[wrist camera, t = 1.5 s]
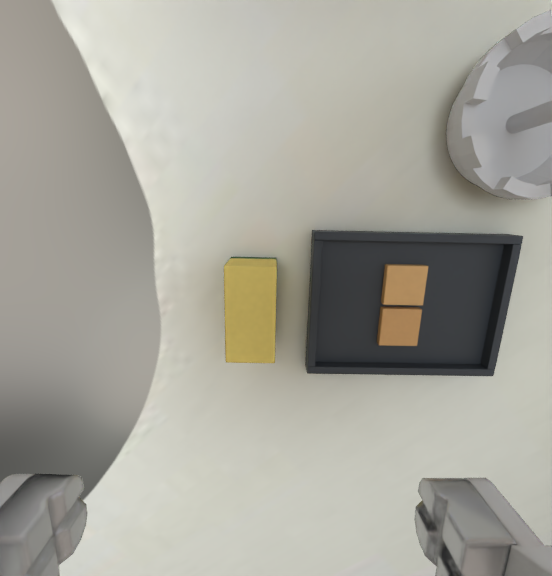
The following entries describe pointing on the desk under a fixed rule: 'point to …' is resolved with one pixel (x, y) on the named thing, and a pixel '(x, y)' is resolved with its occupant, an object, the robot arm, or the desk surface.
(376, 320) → the tray
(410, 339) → the crumb
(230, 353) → the sponge
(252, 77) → the desk surface
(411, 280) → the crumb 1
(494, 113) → the flag stand
